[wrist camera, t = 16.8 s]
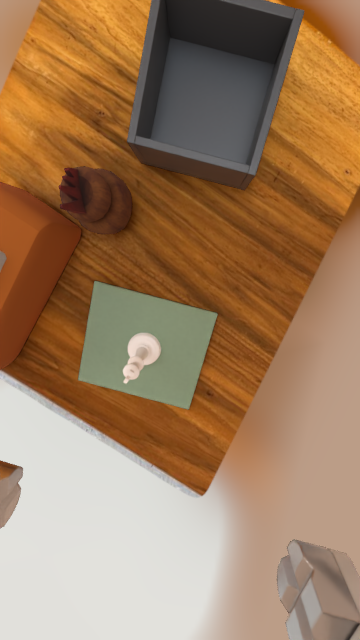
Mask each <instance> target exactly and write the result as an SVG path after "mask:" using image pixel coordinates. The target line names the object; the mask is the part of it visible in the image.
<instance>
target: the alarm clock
mask: <svg viewBox="0 0 360 640" xmlns="http://www.w3.org/2000/svg"><path fill="white" fill-rule="evenodd" d="M80 237H81V229H80V227H79V226H77V225H76V224H74V223H73V222H71V221H70V220H68V219H67V218H65V217H64V216H62V215H61V214H59V213H58V212H57V211H55V210H54V209H52V208H51V207H49V206H48V205H46V204H45V203H43V202H42V201H40V200H39V199H37V198H36V197H34V196H33V195H31V194H30V193H28V192H27V191H25V190H22V189H19V188H16V187H13V186H11V185H8V184H5V183H2V182H0V370H1V369H2V368H4V367H6V366H7V365H9V364H10V363H11V362H13V361H14V360H15V358H16V357H17V356H18V355H19V353H20V351H21V349H22V348H23V346H24V344H25V342H26V340H27V338H28V336H29V334H30V332H31V331H32V329H33V327H34V325H35V323H36V321H37V319H38V317H39V315H40V314H41V312H42V310H43V308H44V306H45V304H46V302H47V300H48V298H49V297H50V295H51V293H52V291H53V289H54V287H55V285H56V283H57V281H58V279H59V278H60V276H61V274H62V272H63V270H64V268H65V266H66V264H67V262H68V261H69V259H70V257H71V255H72V253H73V251H74V249H75V247H76V245H77V244H78V242H79V239H80Z"/></svg>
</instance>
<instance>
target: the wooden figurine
mask: <svg viewBox="0 0 360 640" xmlns="http://www.w3.org/2000/svg"><path fill="white" fill-rule="evenodd" d="M64 170H65V172H66V175H65V176H62V178H63V179H62V182H61V185H59V189H60V196H61V200H62V203H63V204H60V208H61V209H63V210H67V212H68V213H69V214H70V215H72V216H73V217H74V218H75V219H77V220H79V222H80V223H81V225H82V226H84V227H85V228H86V229H88V230H89V231H91V232H94V233H98V234H115V233H118V232H119V231H121V230H123V229H124V228H125V226H126V224H127V223H128V221H129V219H130V216H131V211H132V197H131V193H130V191H129V189H128V187H127V186H126V184H125V183H124V181H123V180H121V179H120V178H119V177H118V176H116V175H115V174H114V173H112V172H111V171H107V170H104V169H92V168H89V167H85V166H83V167H77V168H64Z"/></svg>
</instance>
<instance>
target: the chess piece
mask: <svg viewBox="0 0 360 640" xmlns="http://www.w3.org/2000/svg"><path fill="white" fill-rule="evenodd" d="M160 353H161V346H160V343H159V341H158V339H157V338H156V337H155V336H153V335H151V334H149V333H138V334H136V335H134V336H133V337H132V338H131V339H130V341H129V344H128V354H129V356H130V358H129V360H128V364H127V365H126V366H125V367H124V369H123V374H124V376H125V377H126V378H125V380H124V381H123V382H124V383H125V384H127V382H128V381H129V379H130V380H134V379H136V378H137V377H138V376H139V373H140V370H142V369H143V367H144V365H149V364H152V363H153V362H155V361H156V360H157V359H158V357H159V356H160Z"/></svg>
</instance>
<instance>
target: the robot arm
mask: <svg viewBox="0 0 360 640" xmlns="http://www.w3.org/2000/svg"><path fill="white" fill-rule="evenodd" d="M22 475H23V468H22V467H20V466H17V465H13V464H10V463H7V462H3V461H0V528H2V527H3V526H4V525H5V524H6V522H7V521H8V519H9V518H10V517H11V515H12V513H13V511H14V509H15V507H16V505H17V503H18V500H19V497H20V492H21V488H20V486H19V484H18V482H19V480H20V479H21V478H22ZM287 549H288V553H289V555H287V556H285V557H283V558H282V559H281V561H280V564H279V566H278V571H277V586H278V592H279V597H280V601H281V602H282V604H283V606H284V607H285V608H286V610H287V612H288V616H287V620H286V627H287V631H288V636H289V640H360V577H359V575H358V573H357V571H356V568H355V567H354V564H353V562H352V561H351V559H350V557H349V556H348V555H347V554H346V553H343V552H339V551H336V550H332V549H328V548H326V547H322V546H318V545H314V544H310V543H306V542H302V541H298V540H292V541H290V543H289V545H288V547H287Z"/></svg>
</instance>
